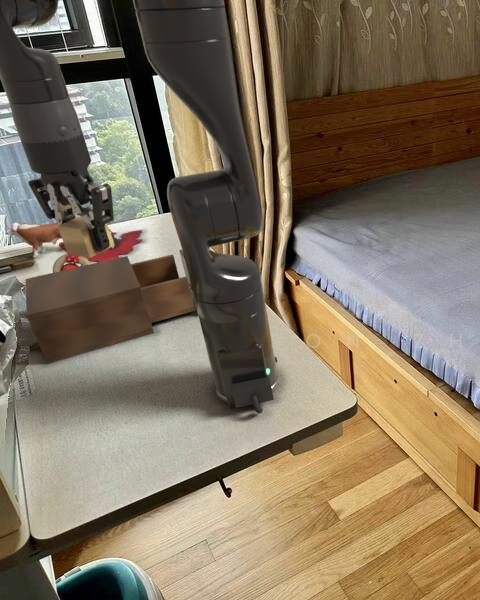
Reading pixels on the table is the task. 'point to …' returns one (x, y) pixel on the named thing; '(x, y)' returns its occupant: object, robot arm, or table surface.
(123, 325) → the cabinet
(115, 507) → the table surface
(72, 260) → the bird rattle
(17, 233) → the bull figurine
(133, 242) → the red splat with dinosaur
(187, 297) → the drawer
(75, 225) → the beech block
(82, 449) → the table surface
